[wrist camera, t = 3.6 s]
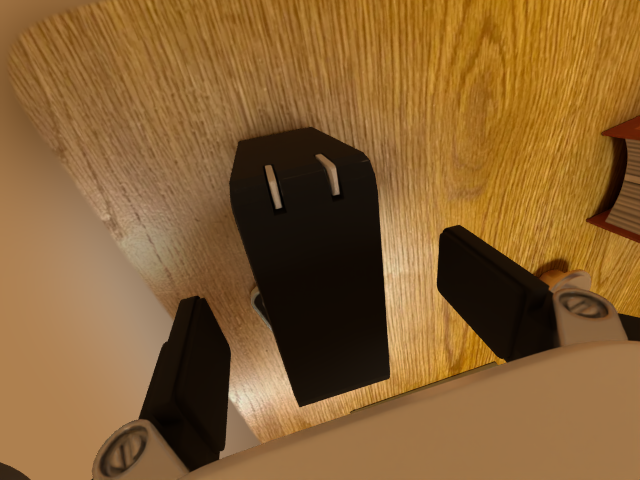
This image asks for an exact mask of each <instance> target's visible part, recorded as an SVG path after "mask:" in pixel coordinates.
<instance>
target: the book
mask: <svg viewBox="0 0 640 480" xmlns="http://www.w3.org/2000/svg"><path fill="white" fill-rule="evenodd" d="M602 135H604V136H611V137H618V138H625V140H626V145H627V152H628V160H627V168H626V174H625V178H624V182H623V185H622V188H621V191H620V194H619V196H618V199H617V201H616V203H615V205H614V207H613V208H611V209H609V210H607V211H605V212H602V213H600V214H598V215H596V216H594V217H591V218H589V219H587V220H586V222H588V223H591V224H593V225H596V226H598V227H601V228H603V229H606V230H608V231H611V232H613V233H616V234H618V235H621V236H623V237H626V238H628V239H631V240H633V241H636V242H638V243H640V116H638V117H636V118H633V119H631V120H629V121H627V122H625V123H622V124H620V125H618V126H616V127H613V128H611V129H609V130H607V131H604V132H602Z"/></svg>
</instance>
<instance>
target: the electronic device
mask: <svg viewBox="0 0 640 480" xmlns="http://www.w3.org/2000/svg"><path fill="white" fill-rule="evenodd" d="M229 186H230V202H231V207H232V211H233V215H234V218H235V221H236V224H237V227H238V230H239V233H240V236H241V239H242V242H243V245H244V248H245V251H246V254H247V257H248V260H249V263H250V266H251V269H252V272H253V275H254V278H255V281H256V284H257V287H258V290H259V293H260V296H261V298H262V301H263V304H264V307H265V310H266V313H267V316H268V319H269V322H270V325H271V328H272V331H273V334H274V337H275V340H276V343H277V346H278V349H279V352H280V355H281V358H282V361H283V364H284V367H285V369H286V372H287V375H288V378H289V381H290V384H291V387H292V390H293V393H294V396H295V398H296V400H297V402H298V405H299V407H302V406H305V405H308V404H312V403H315V402H318V401H321V400H324V399H327V398H330V397H333V396H337V395H340V394H343V393H346V392H349V391H352V390H355V389H358V388H361V387H365V386H368V385H371V384H374V383H377V382H380V381H383V380H386V379H389V378H390V365H389V350H388V335H387V320H386V306H385V291H384V276H383V261H382V247H381V232H380V217H379V202H378V190H377V184H376V178H375V173H374V171H373V168H372V165H371V163H370V160H369V159H368V157H367V156H366V155H365V154H364V153H363V152H361V151H359V150H357V149H355V148H353V147H351V146H349V145H347V144H345V143H343V142H341V141H339V140H337V139H335V138H333V137H331V136H329V135H327V134H325V133H323V132H321V131H319V130H317V129H315V128H313V127H308V128H303V129H298V130H293V131H288V132H283V133H278V134H273V135H268V136H263V137H259V138H254V139H249V140H244V141H239V142H238V146H237V151H236V155H235V160H234V164H233V168H232V173H231V177H230V181H229Z"/></svg>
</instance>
